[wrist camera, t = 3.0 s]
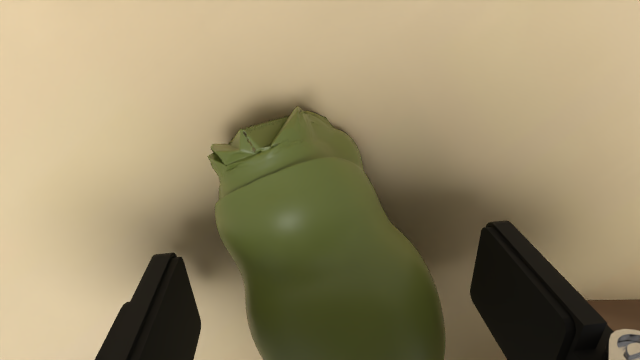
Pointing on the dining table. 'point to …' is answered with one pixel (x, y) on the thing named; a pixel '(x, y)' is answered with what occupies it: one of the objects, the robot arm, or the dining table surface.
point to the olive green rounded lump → (320, 249)
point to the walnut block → (619, 313)
